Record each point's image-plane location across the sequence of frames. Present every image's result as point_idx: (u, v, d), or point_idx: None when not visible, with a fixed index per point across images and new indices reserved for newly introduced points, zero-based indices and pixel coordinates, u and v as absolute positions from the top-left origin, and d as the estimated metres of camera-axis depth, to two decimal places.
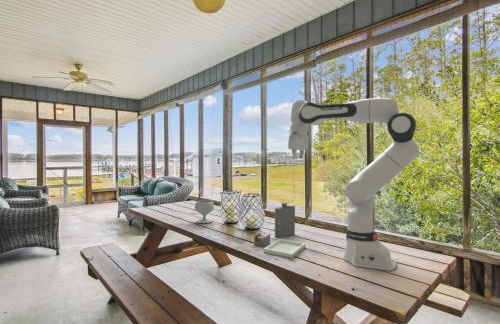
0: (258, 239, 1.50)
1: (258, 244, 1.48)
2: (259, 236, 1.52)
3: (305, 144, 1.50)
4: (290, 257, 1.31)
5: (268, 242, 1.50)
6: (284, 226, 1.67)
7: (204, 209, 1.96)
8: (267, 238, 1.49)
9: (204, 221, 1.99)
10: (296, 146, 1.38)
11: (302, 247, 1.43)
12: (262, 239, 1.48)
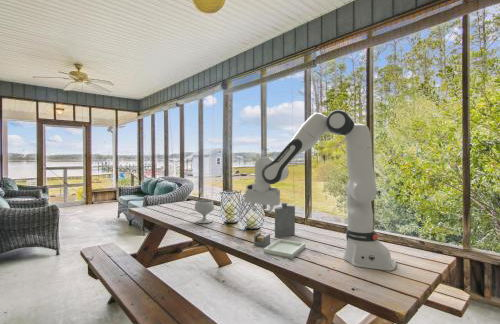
0: (258, 239, 1.50)
1: (258, 244, 1.48)
2: (259, 236, 1.52)
3: None
4: (290, 257, 1.31)
5: (268, 242, 1.50)
6: (284, 226, 1.67)
7: (204, 209, 1.96)
8: (267, 238, 1.49)
9: (204, 221, 1.99)
10: None
11: (302, 247, 1.43)
12: (262, 239, 1.48)
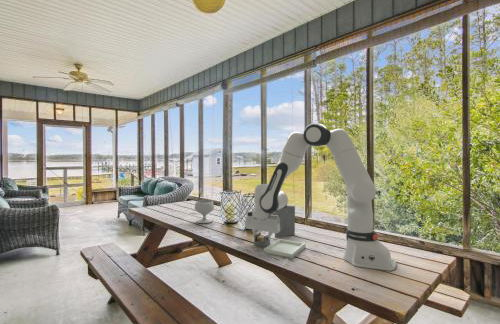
0: (258, 239, 1.50)
1: (258, 244, 1.48)
2: (259, 236, 1.52)
3: None
4: (290, 257, 1.31)
5: (268, 242, 1.50)
6: (284, 226, 1.67)
7: (204, 209, 1.96)
8: None
9: (204, 221, 1.99)
10: None
11: (302, 247, 1.43)
12: (262, 239, 1.48)
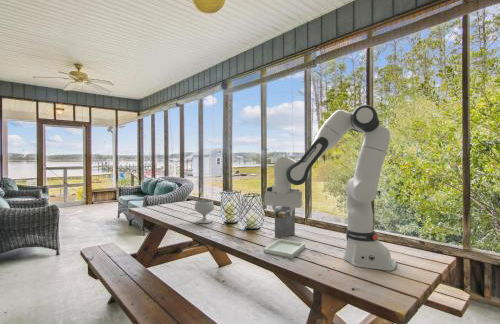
0: (279, 215, 1.42)
1: (279, 220, 1.41)
2: (280, 212, 1.44)
3: None
4: (290, 257, 1.31)
5: (289, 218, 1.43)
6: (284, 226, 1.67)
7: (204, 209, 1.96)
8: None
9: (204, 221, 1.99)
10: None
11: (302, 247, 1.43)
12: (283, 214, 1.41)
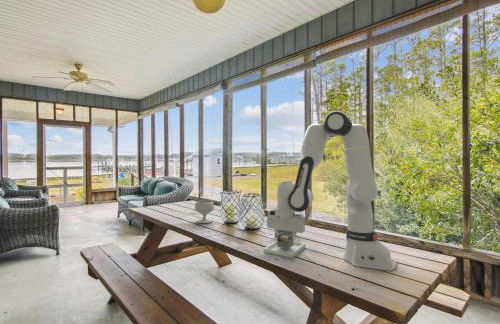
0: (281, 239, 1.41)
1: (281, 244, 1.40)
2: (282, 236, 1.44)
3: None
4: (290, 257, 1.31)
5: (292, 242, 1.42)
6: None
7: (204, 209, 1.96)
8: None
9: (204, 221, 1.99)
10: None
11: (302, 247, 1.43)
12: (286, 239, 1.40)
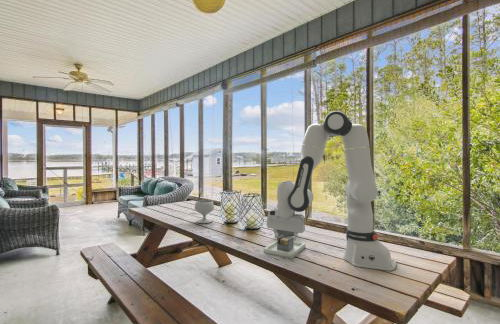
0: (281, 242, 1.41)
1: (281, 247, 1.40)
2: (282, 238, 1.44)
3: None
4: (290, 257, 1.31)
5: (292, 245, 1.42)
6: None
7: (204, 209, 1.96)
8: (291, 241, 1.41)
9: (204, 221, 1.99)
10: None
11: (302, 247, 1.43)
12: (285, 242, 1.40)
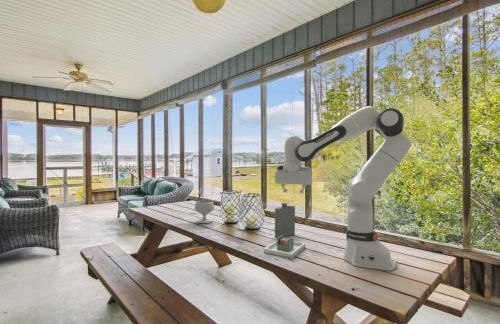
0: (281, 242, 1.41)
1: (281, 247, 1.40)
2: (282, 238, 1.44)
3: None
4: (290, 257, 1.31)
5: (292, 245, 1.42)
6: (284, 226, 1.67)
7: (204, 209, 1.96)
8: (291, 241, 1.41)
9: (204, 221, 1.99)
10: None
11: (302, 247, 1.43)
12: (285, 242, 1.40)
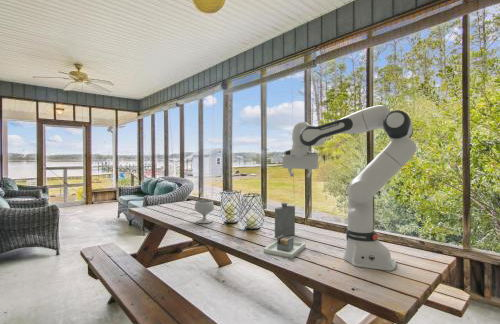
0: (281, 242, 1.41)
1: (281, 247, 1.40)
2: (282, 238, 1.44)
3: None
4: (290, 257, 1.31)
5: (292, 245, 1.42)
6: (284, 226, 1.67)
7: (204, 209, 1.96)
8: (291, 241, 1.41)
9: (204, 221, 1.99)
10: None
11: (302, 247, 1.43)
12: (285, 242, 1.40)
